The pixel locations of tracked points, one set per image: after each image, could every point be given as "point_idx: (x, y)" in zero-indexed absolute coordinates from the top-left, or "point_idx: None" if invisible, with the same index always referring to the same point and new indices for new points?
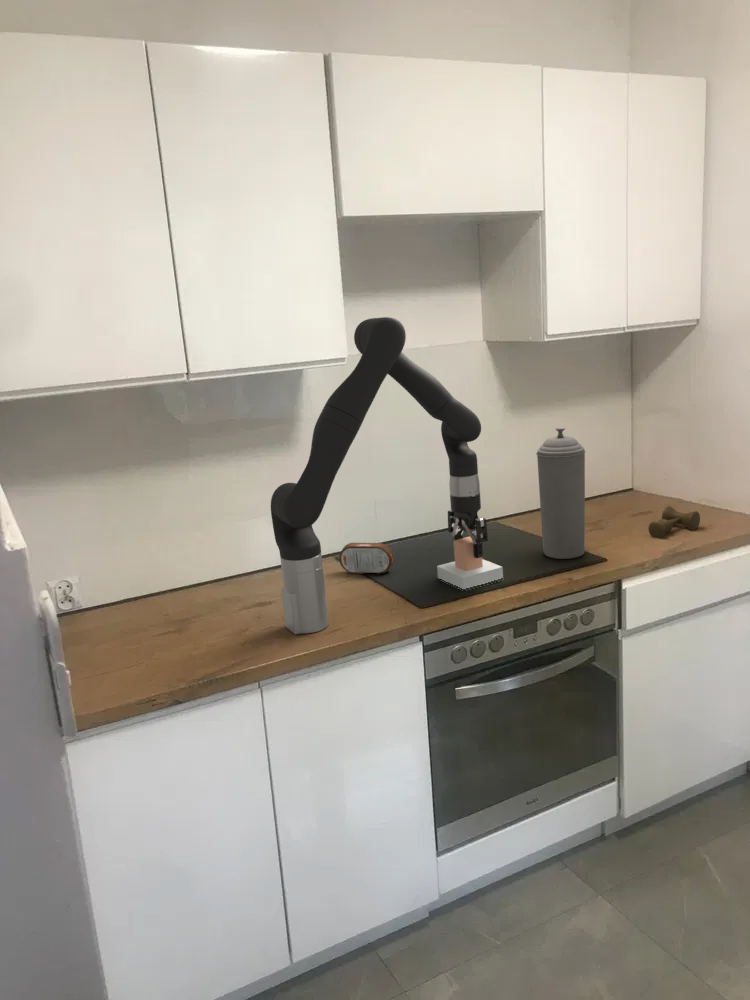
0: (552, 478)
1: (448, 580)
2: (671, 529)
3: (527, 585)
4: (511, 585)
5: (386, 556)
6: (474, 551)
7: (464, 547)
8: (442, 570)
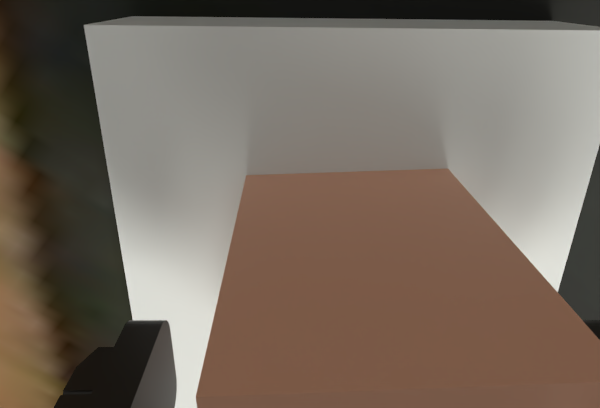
0: None
1: (379, 20)
2: None
3: (2, 389)
4: (52, 331)
5: None
6: (109, 381)
7: (234, 345)
8: (506, 27)
